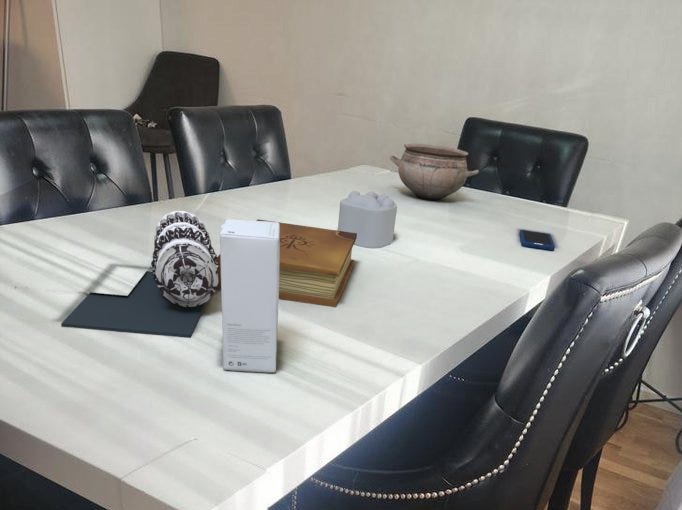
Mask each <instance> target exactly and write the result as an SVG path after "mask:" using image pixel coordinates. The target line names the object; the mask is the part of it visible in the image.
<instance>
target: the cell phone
mask: <svg viewBox="0 0 682 510" xmlns="http://www.w3.org/2000/svg"><path fill="white" fill-rule="evenodd" d="M519 238H520V243H521V246H522V247H528V248H535V249H542V250H547V251H548V250H549V251H555V248H556V245H555V243H554V240H553V237H552V235H551V233H549V232H548V233H547V232H542V231H534V230H527V229H520V230H519Z"/></svg>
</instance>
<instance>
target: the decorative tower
mask: <svg viewBox="0 0 682 510" xmlns="http://www.w3.org/2000/svg"><path fill="white" fill-rule="evenodd" d="M154 233H155V234H154V239H153V241H154V242H153V245H154V249H153V252H152V261H151V262H150V265H151V272H153V276H154V281H155V282H156V283H157V285H158V287H159V289H160V290H161V292H162V294H163V295H164V296H165V297H166V298H167V299H169V300H170V301H171V302H172V303H174V304H177V305H181V306H184V307H192V306H199V305H201V304H203V303H205V302H206V303H207V302H208V301H209V300H210V299H211V298H212V297H213V296H214V294H216V291H217V288H218V286H217V284H218V272H217V271H218V269H219V265H218V263H217V262H216V259H217V257H218V255H217V253H216V252H215V248H214V247H213V246H212V241H211V237H210V233H209V232H208V230H207V228H206V225H205V224H204V222H203V221H202V220H201V219H200V218H199V217H197V216H196V215H195V214H193V213H190V212H189V211H185V210H173V211H170V212H169V213H167V214H165V215H163V217H162V218H161V219H160V221H158V223H157V226H156V228H155V232H154Z"/></svg>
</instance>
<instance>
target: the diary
mask: <svg viewBox="0 0 682 510" xmlns="http://www.w3.org/2000/svg"><path fill="white" fill-rule="evenodd" d="M255 221H266V222H274V221H273V220H266V219H265V220H264V219H260V218H259V219H256V220H255ZM276 222H277V223H279V226H280V259H279V300H285V301H292V302H298V303H305V304H312V305H319V306H325V307H333V308H337V306H338V304H339V302H340V299H341V296H342V294H343V292H344V290H345V287H346V285H347V283H348V280H349V278H350V276H351V273H352V270H353V268H354V266H355V259H352V252H353V247H354V246H355V244H354V243H355V241H356V239H357V233H351V232H344V231H338V229H337V230H336V229H328V228H322V227H315V226H308V225H301V224H295V223H294V224H293V223H288V222H287V223H286V222H280V221H276ZM216 262H217V263H218V265H219V269H218V271H217V272H218V284H217V288H218V289H219V290H220V291H221V258H220V254H218V255H217V259H216Z"/></svg>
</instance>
